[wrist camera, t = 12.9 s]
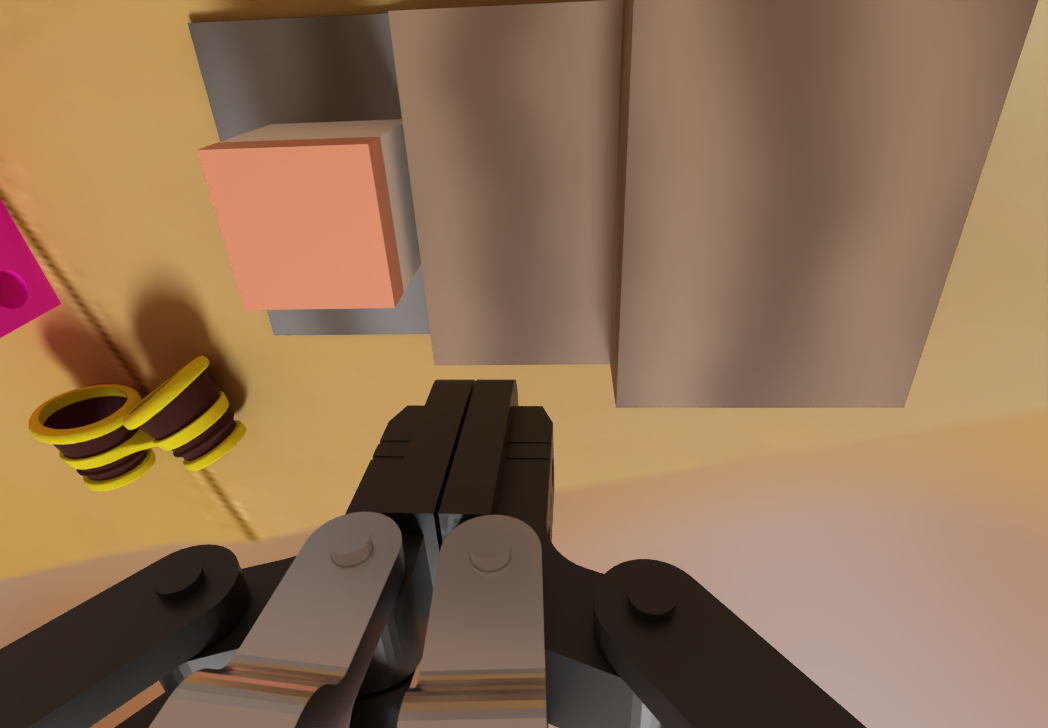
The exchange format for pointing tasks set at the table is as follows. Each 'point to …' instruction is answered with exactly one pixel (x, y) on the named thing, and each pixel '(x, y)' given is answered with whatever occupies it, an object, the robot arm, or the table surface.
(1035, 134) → the table surface
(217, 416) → the opera glasses
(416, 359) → the table surface
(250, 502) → the table surface
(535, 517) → the robot arm
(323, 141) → the cube
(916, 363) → the stair block
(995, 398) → the table surface
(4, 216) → the magenta clamp bracket
